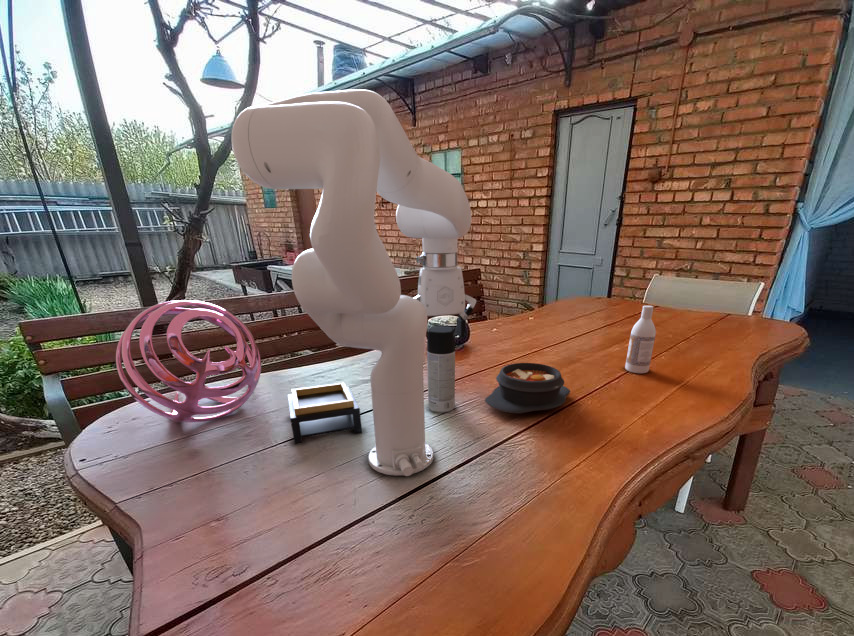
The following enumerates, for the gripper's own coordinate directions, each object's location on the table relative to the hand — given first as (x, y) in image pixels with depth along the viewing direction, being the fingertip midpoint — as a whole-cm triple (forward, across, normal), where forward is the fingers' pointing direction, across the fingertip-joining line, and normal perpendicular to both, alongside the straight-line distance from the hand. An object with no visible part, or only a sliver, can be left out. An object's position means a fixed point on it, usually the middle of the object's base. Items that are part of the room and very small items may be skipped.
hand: (441, 337), depth 99 cm
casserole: (+18, +22, -6) cm, 29 cm away
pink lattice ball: (+18, -53, +16) cm, 59 cm away
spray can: (+18, 0, 0) cm, 18 cm away
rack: (+18, -28, 0) cm, 33 cm away
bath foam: (+19, +67, +4) cm, 69 cm away
